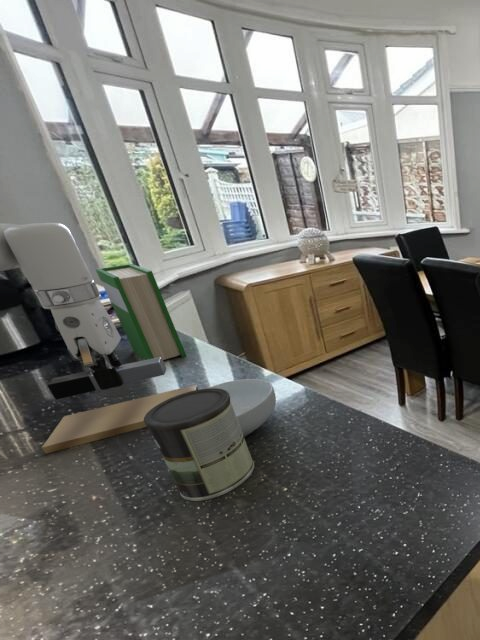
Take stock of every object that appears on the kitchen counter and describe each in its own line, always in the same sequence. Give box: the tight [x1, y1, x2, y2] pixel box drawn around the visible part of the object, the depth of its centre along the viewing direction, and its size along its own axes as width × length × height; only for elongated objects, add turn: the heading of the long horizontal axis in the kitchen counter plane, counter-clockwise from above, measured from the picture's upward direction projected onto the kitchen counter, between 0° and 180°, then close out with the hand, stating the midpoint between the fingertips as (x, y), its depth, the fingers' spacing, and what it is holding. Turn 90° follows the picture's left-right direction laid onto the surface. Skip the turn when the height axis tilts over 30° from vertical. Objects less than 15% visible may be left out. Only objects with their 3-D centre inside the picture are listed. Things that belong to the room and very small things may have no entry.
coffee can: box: [144, 387, 255, 502], centre depth 62 cm, size 10×10×14 cm
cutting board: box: [41, 384, 199, 455], centre depth 81 cm, size 22×12×2 cm, turn 123°
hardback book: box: [95, 263, 187, 361], centre depth 106 cm, size 18×7×24 cm, turn 54°
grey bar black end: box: [46, 357, 167, 400], centre depth 77 cm, size 16×3×3 cm, turn 123°
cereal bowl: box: [205, 378, 277, 438], centre depth 75 cm, size 17×17×7 cm
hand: (114, 382), depth 78 cm, fingers closed on grey bar black end, 3 cm apart
